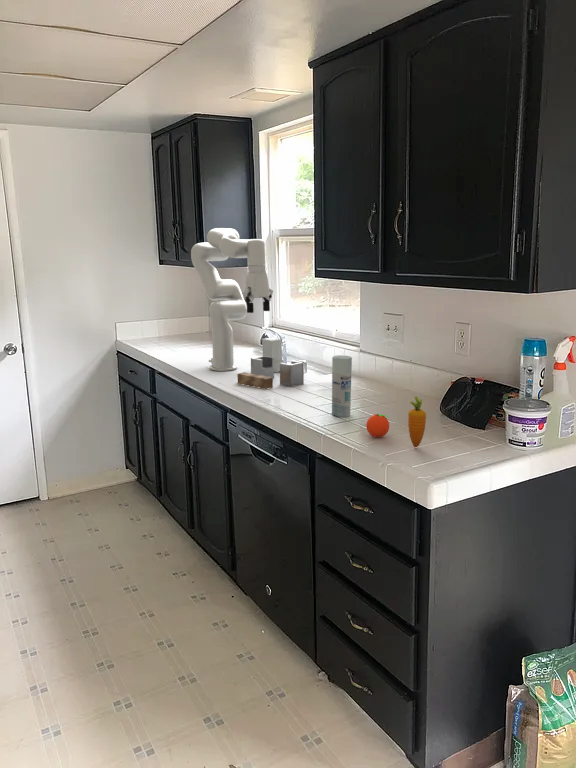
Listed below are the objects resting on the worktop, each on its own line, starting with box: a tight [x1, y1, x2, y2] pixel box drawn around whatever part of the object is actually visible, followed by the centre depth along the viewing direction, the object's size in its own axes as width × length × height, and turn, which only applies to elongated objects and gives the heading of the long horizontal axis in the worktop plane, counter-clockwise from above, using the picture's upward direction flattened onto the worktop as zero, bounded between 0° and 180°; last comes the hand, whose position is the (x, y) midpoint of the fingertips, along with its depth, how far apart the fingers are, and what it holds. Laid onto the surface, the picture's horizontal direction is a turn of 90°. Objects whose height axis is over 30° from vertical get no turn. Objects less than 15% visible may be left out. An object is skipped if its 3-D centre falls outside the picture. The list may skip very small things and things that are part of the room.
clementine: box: [365, 413, 391, 438], centre depth 195 cm, size 8×7×7 cm
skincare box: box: [261, 337, 283, 373], centre depth 293 cm, size 8×6×15 cm
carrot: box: [407, 396, 427, 448], centre depth 184 cm, size 5×5×15 cm
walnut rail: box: [237, 371, 274, 390], centre depth 264 cm, size 16×4×4 cm, turn 49°
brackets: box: [250, 355, 305, 388], centre depth 272 cm, size 23×8×9 cm, turn 47°
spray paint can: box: [331, 354, 353, 418], centre depth 218 cm, size 6×6×20 cm
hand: (258, 311), depth 268 cm, fingers open, 9 cm apart
